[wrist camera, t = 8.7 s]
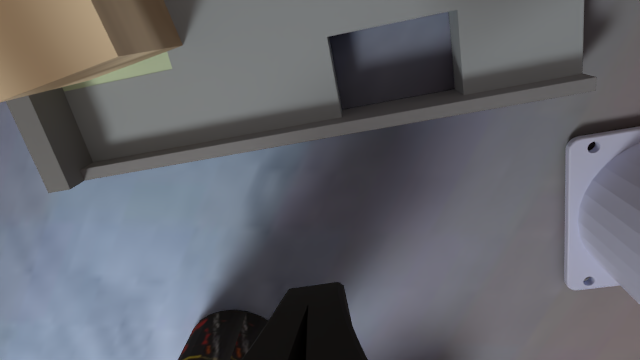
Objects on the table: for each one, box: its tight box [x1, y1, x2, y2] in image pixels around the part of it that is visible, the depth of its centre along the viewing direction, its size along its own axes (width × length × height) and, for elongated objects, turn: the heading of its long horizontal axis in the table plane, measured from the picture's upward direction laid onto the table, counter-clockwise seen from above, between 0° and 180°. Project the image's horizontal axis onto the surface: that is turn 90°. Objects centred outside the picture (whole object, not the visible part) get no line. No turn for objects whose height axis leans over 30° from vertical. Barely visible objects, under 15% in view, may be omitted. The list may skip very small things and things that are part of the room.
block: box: [0, 0, 183, 102], centre depth 14 cm, size 4×4×5 cm
